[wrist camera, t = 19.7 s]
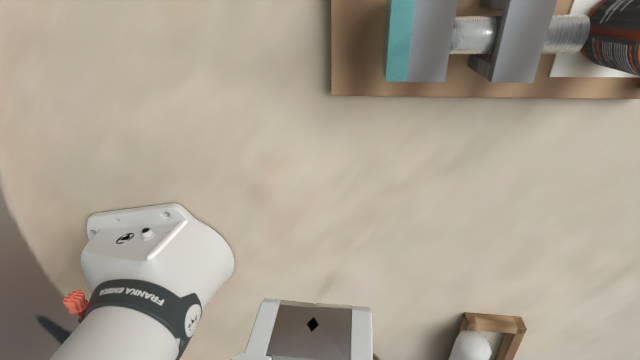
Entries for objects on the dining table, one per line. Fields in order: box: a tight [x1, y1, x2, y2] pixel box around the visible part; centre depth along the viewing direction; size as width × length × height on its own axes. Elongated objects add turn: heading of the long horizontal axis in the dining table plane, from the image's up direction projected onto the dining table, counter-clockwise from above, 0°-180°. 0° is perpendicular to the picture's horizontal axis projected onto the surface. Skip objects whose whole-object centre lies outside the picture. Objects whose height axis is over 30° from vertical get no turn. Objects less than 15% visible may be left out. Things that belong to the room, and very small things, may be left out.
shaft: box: [382, 0, 590, 82], centre depth 26 cm, size 15×6×6 cm, turn 91°
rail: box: [331, 0, 640, 99], centre depth 27 cm, size 30×12×8 cm, turn 91°
